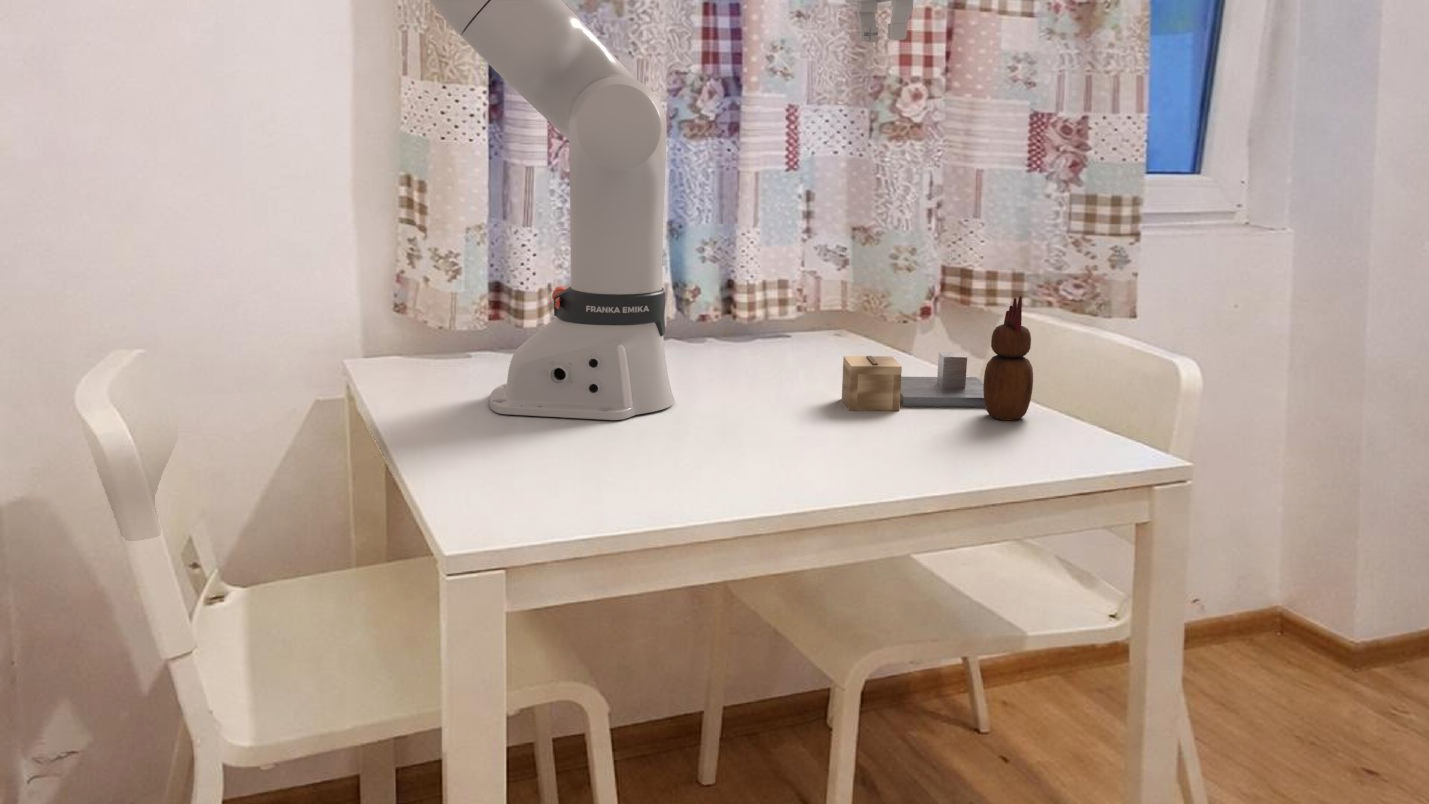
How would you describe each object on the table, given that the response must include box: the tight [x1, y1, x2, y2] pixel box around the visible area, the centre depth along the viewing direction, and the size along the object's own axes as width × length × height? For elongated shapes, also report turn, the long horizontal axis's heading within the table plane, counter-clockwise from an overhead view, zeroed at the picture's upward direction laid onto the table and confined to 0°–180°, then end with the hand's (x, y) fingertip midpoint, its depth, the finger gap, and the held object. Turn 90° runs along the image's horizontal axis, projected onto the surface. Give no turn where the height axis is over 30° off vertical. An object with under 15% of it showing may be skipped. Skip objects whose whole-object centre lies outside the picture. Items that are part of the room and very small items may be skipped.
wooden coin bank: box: [841, 355, 903, 412], centre depth 163 cm, size 6×6×6 cm
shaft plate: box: [900, 351, 986, 408], centre depth 169 cm, size 12×12×5 cm
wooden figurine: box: [983, 295, 1034, 421], centre depth 157 cm, size 7×6×15 cm
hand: (882, 41), depth 154 cm, fingers open, 8 cm apart
